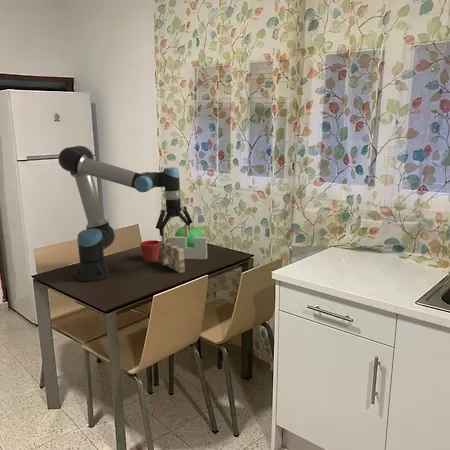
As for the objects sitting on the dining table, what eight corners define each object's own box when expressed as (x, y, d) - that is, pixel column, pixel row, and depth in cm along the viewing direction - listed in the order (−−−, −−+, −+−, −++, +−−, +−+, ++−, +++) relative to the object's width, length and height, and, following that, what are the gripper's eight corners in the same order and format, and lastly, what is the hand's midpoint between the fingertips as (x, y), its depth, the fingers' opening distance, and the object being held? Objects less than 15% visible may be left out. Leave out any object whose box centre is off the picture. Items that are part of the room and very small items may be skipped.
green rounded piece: (169, 249, 274) (168, 225, 270) (187, 243, 287) (186, 220, 284) (192, 254, 263) (191, 229, 260) (210, 247, 277) (209, 223, 273)
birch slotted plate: (161, 263, 248) (159, 242, 245) (165, 262, 249) (164, 241, 247) (179, 272, 232) (178, 250, 229) (184, 271, 234) (183, 248, 231)
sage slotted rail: (167, 258, 257) (166, 237, 254) (169, 256, 260) (168, 236, 257) (206, 259, 253) (205, 238, 250) (207, 257, 256) (206, 237, 253)
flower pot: (137, 259, 256) (136, 242, 254) (154, 255, 263) (153, 239, 261) (147, 263, 248) (146, 246, 246) (164, 259, 255) (163, 242, 253)
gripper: (154, 202, 219) (157, 245, 224) (197, 196, 233) (199, 236, 238) (147, 200, 225) (150, 242, 230) (190, 194, 239) (192, 233, 244)
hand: (175, 239), depth 234 cm, fingers open, 13 cm apart
